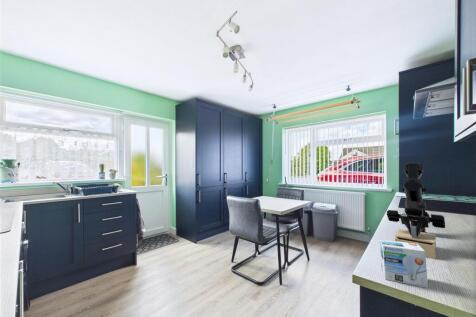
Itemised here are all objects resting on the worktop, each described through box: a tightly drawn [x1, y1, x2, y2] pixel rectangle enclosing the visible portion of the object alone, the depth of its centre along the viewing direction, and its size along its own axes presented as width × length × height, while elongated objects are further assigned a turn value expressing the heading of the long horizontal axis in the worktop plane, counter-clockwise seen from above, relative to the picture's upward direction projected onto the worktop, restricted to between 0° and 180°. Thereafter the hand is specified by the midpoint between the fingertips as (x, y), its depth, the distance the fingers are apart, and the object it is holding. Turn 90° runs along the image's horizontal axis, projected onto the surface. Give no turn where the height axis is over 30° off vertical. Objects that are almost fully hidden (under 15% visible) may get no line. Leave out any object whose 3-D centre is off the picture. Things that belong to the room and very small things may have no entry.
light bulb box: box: [379, 239, 429, 289], centre depth 63 cm, size 11×7×11 cm, turn 62°
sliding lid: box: [394, 226, 437, 244], centre depth 85 cm, size 12×12×5 cm
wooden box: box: [394, 237, 437, 260], centre depth 83 cm, size 12×12×5 cm
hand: (413, 235), depth 81 cm, fingers closed on sliding lid, 2 cm apart
